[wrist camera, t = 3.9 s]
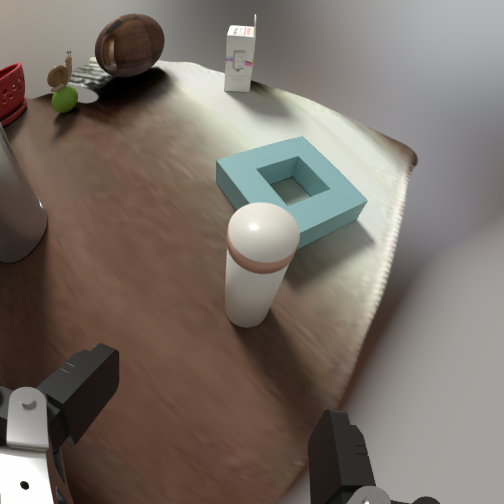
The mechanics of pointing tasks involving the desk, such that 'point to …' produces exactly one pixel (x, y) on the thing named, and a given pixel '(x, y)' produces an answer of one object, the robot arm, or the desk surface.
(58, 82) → the snail figurine
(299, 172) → the teal square frame
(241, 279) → the white capped post
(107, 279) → the desk surface
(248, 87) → the ink cartridge box
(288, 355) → the desk surface
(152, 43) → the wooden sphere
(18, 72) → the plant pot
